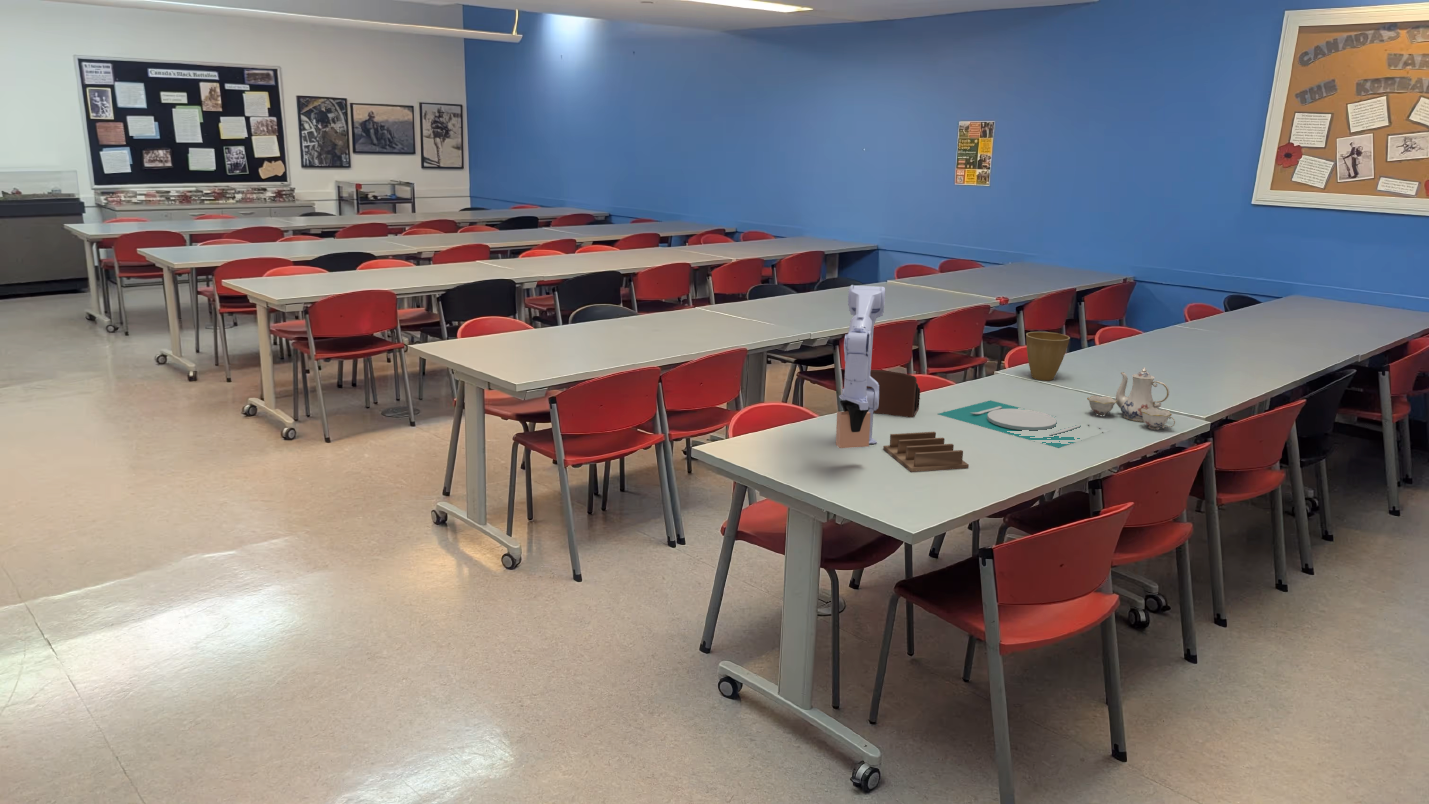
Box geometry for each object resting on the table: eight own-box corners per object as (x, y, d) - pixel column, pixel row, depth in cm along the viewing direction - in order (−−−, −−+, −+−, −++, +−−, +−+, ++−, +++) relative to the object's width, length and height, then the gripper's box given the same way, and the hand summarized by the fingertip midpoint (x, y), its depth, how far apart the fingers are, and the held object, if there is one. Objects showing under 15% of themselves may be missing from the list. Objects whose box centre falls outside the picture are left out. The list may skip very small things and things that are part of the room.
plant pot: (1021, 381, 330) (1026, 337, 326) (1022, 372, 344) (1026, 330, 340) (1065, 384, 326) (1070, 340, 322) (1064, 375, 340) (1069, 333, 335)
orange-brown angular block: (835, 444, 240) (837, 411, 237) (864, 442, 241) (866, 410, 239) (839, 448, 237) (840, 414, 234) (868, 446, 238) (870, 413, 236)
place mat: (930, 416, 289) (931, 409, 288) (989, 401, 307) (990, 394, 306) (1059, 452, 255) (1060, 445, 254) (1116, 433, 273) (1117, 426, 272)
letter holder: (913, 418, 284) (916, 374, 280) (850, 411, 291) (853, 368, 287) (919, 410, 293) (922, 367, 289) (858, 403, 300) (860, 361, 296)
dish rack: (883, 449, 254) (884, 433, 253) (937, 445, 257) (938, 430, 256) (911, 471, 236) (912, 455, 235) (968, 468, 239) (969, 451, 238)
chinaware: (1076, 419, 290) (1080, 369, 284) (1101, 405, 300) (1105, 356, 294) (1167, 440, 270) (1172, 386, 264) (1190, 423, 280) (1196, 372, 274)
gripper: (831, 372, 240) (829, 422, 244) (850, 386, 226) (847, 438, 230) (857, 371, 242) (854, 420, 245) (877, 385, 228) (874, 437, 231)
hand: (853, 429), depth 238 cm, fingers closed on orange-brown angular block, 3 cm apart
